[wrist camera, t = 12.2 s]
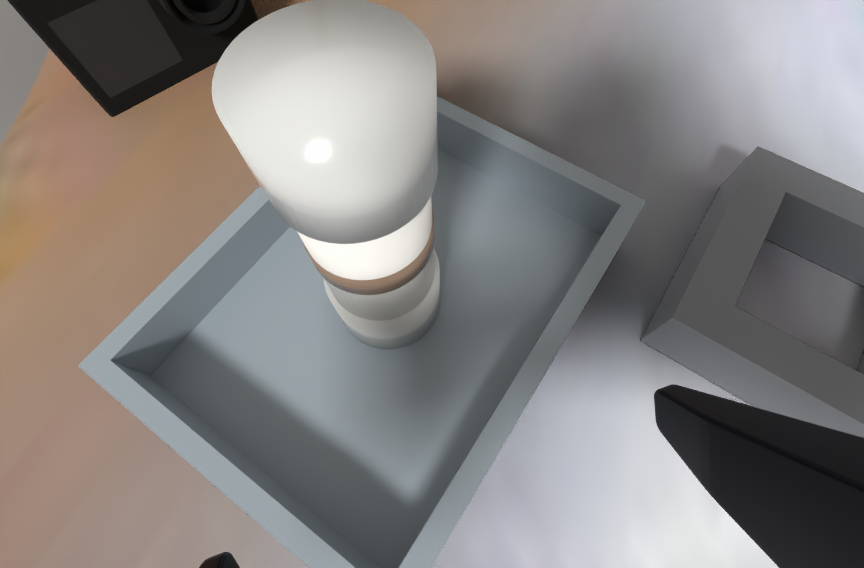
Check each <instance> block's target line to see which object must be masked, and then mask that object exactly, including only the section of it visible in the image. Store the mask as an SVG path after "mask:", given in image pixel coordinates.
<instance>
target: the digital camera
mask: <svg viewBox="0 0 864 568" xmlns="http://www.w3.org/2000/svg"><path fill="white" fill-rule="evenodd" d="M8 1H9V3H10V4H11V5H12V6H13V7H14V8H15V9H16V11H17V12H18V13H19V14H20V15H21V16H22V18H23V19H24V20H25V21H26V22H27V23H28V24H29V26H30V27H31V28H32V29H33V30H34V31H35V32H36V33H37V35H38V36H39V37H40V38H41V39H42V40H43V41H44V42H45V44H46V45H47V46H48V47H49V48H50V49H51V50H52V52H53V53H54V54H55V55H56V56H57V57H58V58H59V59H60V61H61V62H62V63H63V64H64V65H65V66H66V67H67V68H68V70H69V71H70V72H71V73H72V74H73V75H74V76H75V77H76V79H77V80H78V81H79V82H80V83H81V84H82V85H83V86H84V88H85V89H86V90H87V91H88V92H89V93H90V94H91V95H92V96H93V98H94V99H95V100H96V101H97V102H98V103H99V104H100V105H101V107H102V108H103V109H104V110H105V111H106V112H107V113H108V114H109V115H110V116H111V117H113V116H115V115H117V114H119V113H121V112H123V111H125V110H127V109H129V108H131V107H133V106H134V105H136V104H138V103H140V102H142V101H144V100H146V99H148V98H150V97H152V96H153V95H155V94H157V93H159V92H161V91H163V90H165V89H167V88H169V87H170V86H172V85H174V84H176V83H178V82H180V81H182V80H184V79H186V78H188V77H189V76H191V75H193V74H195V73H197V72H199V71H201V70H203V69H205V68H206V67H208V66H210V65H212V64H214V63H216V62H218V61H219V59H220V58H221V56H222V54H223V53H224V51H225V50H226V48H227V47H228V46H229V45H230V43H231V42H232V41H233V40H234V39H235V38H236V37H237V36H238V35H239V34H240V33H241V32H242V31H244V30H245V29H246V28H248V27H249V26H250V25H251V24H253V23H255V22H256V21H258V17H257V15H256V12H255V10H254V7H253V4H252V2H251V0H8Z"/></svg>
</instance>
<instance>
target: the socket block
mask: <svg viewBox="0 0 864 568" xmlns="http://www.w3.org/2000/svg"><path fill="white" fill-rule="evenodd" d="M765 239H767V240H769V241H771V242H773V243H775V244H777V245H779V246H781V247H783V248H785V249H787V250H789V251H791V252H793V253H795V254H797V255H799V256H801V257H803V258H806V259H808V260H810V261H812V262H814V263H816V264H818V265H820V266H822V267H824V268H826V269H828V270H830V271H832V272H834V273H836V274H838V275H840V276H842V277H844V278H847V279H849V280H851V281H853V282H855V283H857V284H859V285H861V286H863V287H864V193H863V192H860V191H858V190H856V189H854V188H851V187H849V186H847V185H844V184H842V183H840V182H838V181H835V180H833V179H831V178H829V177H826V176H824V175H822V174H819V173H817V172H815V171H813V170H810V169H808V168H806V167H804V166H801V165H799V164H797V163H794V162H792V161H790V160H788V159H785V158H783V157H781V156H779V155H776V154H774V153H772V152H769V151H767V150H765V149H763V148H760V147H757V148H756V149H755V150H754V151H753V152H752V153H751V154H750V155H749V156H748V157H747V159H746V160H745V161H744V162H743V163H742V164H741V165H740V166H739V167H738V168H737V169H736V170H735V171H734V172H733V173H732V174H731V176H730V177H729V178H728V179H727V180H726V181H725V182H724V183H723V184H722V185H721V186H720V188H719V190H718V192H717V194H716V196H715V198H714V200H713V201H712V203H711V205H710V207H709V209H708V211H707V213H706V215H705V217H704V219H703V221H702V223H701V225H700V227H699V228H698V230H697V232H696V234H695V236H694V238H693V240H692V242H691V244H690V246H689V248H688V250H687V252H686V253H685V255H684V257H683V259H682V261H681V263H680V265H679V267H678V269H677V271H676V273H675V275H674V277H673V279H672V280H671V282H670V284H669V286H668V288H667V290H666V292H665V294H664V296H663V298H662V300H661V302H660V304H659V306H658V307H657V309H656V311H655V313H654V315H653V317H652V319H651V321H650V323H649V325H648V327H647V329H646V331H645V333H644V334H643V336H642V338H641V340H640V341H642V342H643V343H645V344H647V345H648V346H650V347H652V348H654V349H655V350H657V351H659V352H661V353H662V354H664V355H666V356H667V357H669V358H671V359H673V360H674V361H676V362H678V363H679V364H681V365H683V366H685V367H686V368H688V369H690V370H692V371H693V372H695V373H697V374H698V375H700V376H702V377H704V378H705V379H707V380H709V381H711V382H712V383H714V384H716V385H717V386H719V387H721V388H723V389H724V390H726V391H728V392H729V393H731V394H733V395H735V396H736V397H738V398H740V399H742V400H743V401H745V402H747V403H748V404H750V405H752V406H754V407H757V408H760V409H764V410H767V411H771V412H774V413H778V414H782V415H785V416H789V417H792V418H796V419H799V420H803V421H806V422H810V423H813V424H817V425H821V426H824V427H828V428H831V429H835V430H838V431H842V432H845V433H849V434H853V435H856V436H860V437H863V438H864V352H863V355H862V358H861V362H860V365H859V368H858V371H856V370H854V369H853V368H851V367H849V366H847V365H845V364H843V363H841V362H839V361H837V360H836V359H834V358H832V357H830V356H828V355H826V354H824V353H822V352H821V351H819V350H817V349H815V348H813V347H811V346H809V345H807V344H805V343H804V342H802V341H800V340H798V339H796V338H794V337H792V336H790V335H789V334H787V333H785V332H783V331H781V330H779V329H777V328H775V327H774V326H772V325H770V324H768V323H766V322H764V321H762V320H760V319H758V318H757V317H755V316H753V315H751V314H749V313H747V312H745V311H743V310H742V309H740V308H738V307H736V306H735V305H736V302H737V300H738V298H739V296H740V293H741V291H742V289H743V287H744V285H745V282H746V280H747V278H748V276H749V273H750V271H751V269H752V267H753V264H754V262H755V260H756V258H757V255H758V253H759V251H760V249H761V246H762V244H763V242H764V240H765Z"/></svg>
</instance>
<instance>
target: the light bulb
mask: <svg viewBox="0 0 864 568" xmlns="http://www.w3.org/2000/svg"><path fill="white" fill-rule="evenodd" d="M212 98H213V103H214V106H215V110H216V112H217V114H218V116H219V118H220V120H221V122H222V123H223V125H224V127H225V128H226V130H227V132H228V133H229V135H230V137H231V138H232V140H233V141H234V143H235V145H236V146H237V148H238V150H239V151H240V153H241V155H242V156H243V158H244V160H245V161H246V163H247V165H248V166H249V168H250V169H251V171H252V173H253V174H254V176H255V178H256V179H257V181H258V183H259V184H260V186H261V188H262V189H263V191H264V193H265V194H266V196H267V197H268V199H269V201H270V202H271V204H272V206H273V207H274V209H275V211H276V212H277V213H278V215H279V216H280V217H281V218H282V220H283V221H285V222H286V223H287V224H288V225H289V226H290V227H291V228H293V229H294V230H296V231H297V232H298V234H299V236H300V238H301V239H302V242H303V245H304V247H305V250H306V251H307V253H308V255H309V257H310V258H311V260H312V262H313V264H314V265H315V267H316V269H317V270H318V272H319V273H320V274H321V276H322V277H323V278H324V286H325V290H326V293H327V295H328V297H329V299H330V301H331V303H332V304H333V306H334V308H335V309H336V311H337V313H338V314H339V316H340V318H341V319H342V321H343V323H344V324H345V326H346V328H347V329H348V330H349V332H350V333H351V334H352V335H353V336H354V337H355V338H356V339H358V340H359V341H360V342H362V343H364V344H366V345H368V346H371V347H374V348H379V349H396V348H401V347H405V346H408V345H410V344H412V343H414V342H416V341H417V340H419V339H420V338H421V337H423V336H424V335H425V334H426V333H427V332H428V331H429V330H430V328H431V327H432V326H433V324H434V322H435V320H436V318H437V315H438V312H439V308H440V268H439V260H438V257H437V254H436V251H435V249H434V214H433V209H432V201H431V195H432V193H433V191H434V188H435V184H436V181H437V174H438V145H437V85H436V60H435V56H434V52H433V49H432V47H431V45H430V42H429V41H428V39H427V38H426V36H425V35H424V33H423V32H422V31H421V30H420V29H419V28H418V27H417V26H416V25H415V24H414V23H413V22H412V21H411V20H409V19H408V18H406V17H405V16H403V15H402V14H400V13H398V12H396V11H394V10H392V9H390V8H388V7H385V6H382V5H379V4H376V3H372V2H368V1H363V0H312V1H307V2H302V3H298V4H294V5H291V6H288V7H285V8H282V9H280V10H277V11H275V12H273V13H271V14H269V15H267V16H265V17H263V18H261V19H259V20H258V21H256V22H255V23H253V24H251V25H250V26H249V27H248V28H246V29H245V30H244V31H242V32H241V33H240V34H239V35H238V36H237V37H236V38H235V39H234V40H233V41H232V42H231V43H230V45H229V46H228V47H227V48H226V50H225V51H224V53H223V54H222V56H221V58H220V59H219V62H218V64H217V66H216V69H215V72H214V76H213V80H212Z"/></svg>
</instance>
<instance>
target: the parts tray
mask: <svg viewBox="0 0 864 568" xmlns="http://www.w3.org/2000/svg"><path fill="white" fill-rule="evenodd" d="M437 145H438V174H437V181H436V184H435V188H434V191H433V193H432V195H431V201H432V209H433V214H434V249H435V251H436V254H437V257H438V260H439V268H440V308H439V312H438V315H437V318H436V320H435V322H434V324H433V326H432V327H431V328H430V330H429V331H428V332H427V333H426V334H425V335H424V336H423V337H421V338H420V339H419V340H417V341H416V342H414V343H412V344H410V345H408V346H405V347H401V348H396V349H379V348H374V347H371V346H368V345H366V344H364V343H362V342H360V341H359V340H358V339H356V338H355V337H354V336H353V335H352V334H351V333H350V332H349V330H348V329H347V328H346V326H345V324H344V323H343V321H342V319H341V318H340V316H339V314H338V313H337V311H336V309H335V308H334V306H333V304H332V303H331V301H330V299H329V297H328V295H327V293H326V290H325V286H324V278H323V277H322V276H321V274H320V273H319V272H318V270H317V269H316V267H315V265H314V264H313V262H312V260H311V258H310V257H309V255H308V253H307V251H306V250H305V247H304V245H303V242H302V239H301V238H300V236H299V234H298V232H297V231H296V230H294V229H293V228H291V227H290V226H289V225H288V224H287V223H286V222H285V221H283V220H282V218H281V217H280V216H279V215H278V213H277V212H276V211H275V209H274V207H273V206H272V204H271V202H270V201H269V199H268V197H267V196H266V194H265V193H264V191H263V189H262V188H261V186H259V187H258V188H257V189H256V190H255V191H254V192H253V193H252V194H251V195H250V196H249V197H248V198H247V199H246V200H245V201H244V202H243V203H242V204H241V205H240V206H239V207H238V208H237V209H236V210H235V211H234V212H233V213H232V214H231V215H230V216H229V217H228V218H227V219H226V220H225V221H224V222H223V223H222V224H221V225H220V226H219V227H218V228H217V229H216V230H215V231H214V232H213V233H212V234H211V235H210V236H209V237H208V238H207V239H206V240H205V241H204V242H203V243H202V244H201V245H200V246H199V247H198V248H196V249H195V250H194V251H193V252H192V253H191V254H190V255H189V256H188V257H187V258H186V259H185V260H184V261H183V262H182V263H181V264H180V265H179V266H178V267H177V268H176V269H175V270H174V271H173V272H172V273H171V274H170V275H169V276H168V277H167V278H166V279H165V280H164V281H163V282H162V283H161V284H160V285H159V286H158V287H157V288H156V289H155V290H154V291H153V292H152V293H151V294H150V295H149V296H148V297H147V298H146V299H145V300H144V301H143V302H142V303H141V304H140V305H139V306H138V307H137V308H136V309H135V310H134V311H133V312H132V313H131V314H130V315H129V316H128V317H127V318H126V319H125V320H124V321H123V322H122V323H121V324H120V325H119V326H118V327H117V328H116V329H114V330H113V331H112V332H111V333H110V334H109V335H108V336H107V337H106V338H105V339H104V340H103V341H102V342H101V343H100V344H99V345H98V346H97V347H96V348H95V349H94V350H93V351H92V352H91V353H90V354H89V355H88V356H87V357H86V358H85V359H84V360H83V361H82V362H81V363H80V364H79V365H78V366H79V367H80V368H81V369H82V370H83V371H84V372H85V373H87V374H88V375H89V376H90V377H91V378H92V379H93V380H95V381H96V382H97V383H98V384H99V385H100V386H101V387H103V388H104V389H105V390H106V391H107V392H108V393H109V394H111V395H112V396H113V397H114V398H115V399H116V400H117V401H119V402H120V403H121V404H122V405H123V406H124V407H125V408H127V409H128V410H129V411H130V412H131V413H132V414H133V415H135V416H136V417H137V418H138V419H139V420H140V421H141V422H143V423H144V424H145V425H146V426H147V427H148V428H149V429H151V430H152V431H153V432H154V433H155V434H156V435H157V436H159V437H160V438H161V439H162V440H163V441H164V442H165V443H167V444H168V445H169V446H170V447H171V448H172V449H173V450H175V451H176V452H177V453H178V454H179V455H180V456H181V457H183V458H184V459H185V460H186V461H187V462H188V463H189V464H191V465H192V466H193V467H194V468H195V469H196V470H197V471H199V472H200V473H201V474H202V475H203V476H204V477H206V478H207V479H208V480H209V481H210V482H211V483H212V484H214V485H215V486H216V487H217V488H218V489H219V490H220V491H222V492H223V493H224V494H225V495H226V496H227V497H228V498H230V499H231V500H232V501H233V502H234V503H235V504H236V505H238V506H239V507H240V508H241V509H242V510H243V511H244V512H246V513H247V514H248V515H249V516H250V517H251V518H252V519H254V520H255V521H256V522H257V523H258V524H259V525H260V526H262V527H263V528H264V529H265V530H266V531H267V532H268V533H270V534H271V535H272V536H273V537H274V538H275V539H276V540H278V541H279V542H280V543H281V544H282V545H283V546H284V547H286V548H287V549H288V550H289V551H290V552H291V553H292V554H294V555H295V556H296V557H297V558H298V559H299V560H300V561H302V562H303V563H304V564H305V565H306V566H307V567H308V568H431V567H432V565H433V563H434V562H435V560H436V558H437V557H438V555H439V553H440V552H441V550H442V548H443V546H444V545H445V543H446V541H447V540H448V538H449V536H450V535H451V533H452V531H453V529H454V528H455V526H456V524H457V523H458V521H459V519H460V518H461V516H462V514H463V512H464V511H465V509H466V507H467V506H468V504H469V502H470V501H471V499H472V497H473V495H474V494H475V492H476V490H477V489H478V487H479V485H480V484H481V482H482V480H483V478H484V477H485V475H486V473H487V472H488V470H489V468H490V467H491V465H492V463H493V461H494V460H495V458H496V456H497V455H498V453H499V451H500V450H501V448H502V446H503V444H504V443H505V441H506V439H507V438H508V436H509V434H510V433H511V431H512V429H513V427H514V426H515V424H516V422H517V421H518V419H519V417H520V416H521V414H522V412H523V410H524V409H525V407H526V405H527V404H528V402H529V400H530V399H531V397H532V395H533V393H534V392H535V390H536V388H537V387H538V385H539V383H540V382H541V380H542V378H543V376H544V375H545V373H546V371H547V370H548V368H549V366H550V365H551V363H552V361H553V359H554V358H555V356H556V354H557V353H558V351H559V349H560V348H561V346H562V344H563V342H564V341H565V339H566V337H567V336H568V334H569V332H570V331H571V329H572V327H573V325H574V324H575V322H576V320H577V319H578V317H579V315H580V314H581V312H582V310H583V308H584V307H585V305H586V303H587V302H588V300H589V298H590V297H591V295H592V293H593V291H594V290H595V288H596V286H597V285H598V283H599V281H600V280H601V278H602V276H603V274H604V273H605V271H606V269H607V268H608V266H609V264H610V263H611V261H612V259H613V257H614V256H615V254H616V252H617V251H618V249H619V247H620V246H621V244H622V242H623V240H624V239H625V237H626V235H627V234H628V232H629V230H630V229H631V227H632V225H633V223H634V222H635V220H636V218H637V217H638V215H639V213H640V212H641V210H642V208H643V206H644V205H645V203H646V200H644V199H642V198H640V197H638V196H636V195H634V194H632V193H630V192H628V191H626V190H624V189H622V188H620V187H618V186H616V185H614V184H612V183H610V182H608V181H606V180H604V179H602V178H600V177H598V176H596V175H594V174H592V173H590V172H588V171H586V170H584V169H582V168H580V167H578V166H576V165H574V164H572V163H570V162H568V161H566V160H564V159H562V158H560V157H558V156H556V155H554V154H552V153H550V152H548V151H546V150H544V149H542V148H540V147H538V146H536V145H534V144H532V143H530V142H528V141H526V140H524V139H522V138H520V137H518V136H516V135H514V134H512V133H510V132H508V131H506V130H504V129H502V128H500V127H498V126H496V125H494V124H492V123H490V122H488V121H486V120H484V119H482V118H480V117H478V116H476V115H474V114H472V113H470V112H468V111H466V110H464V109H462V108H460V107H458V106H456V105H454V104H452V103H450V102H448V101H446V100H444V99H442V98H440V97H438V96H437Z"/></svg>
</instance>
